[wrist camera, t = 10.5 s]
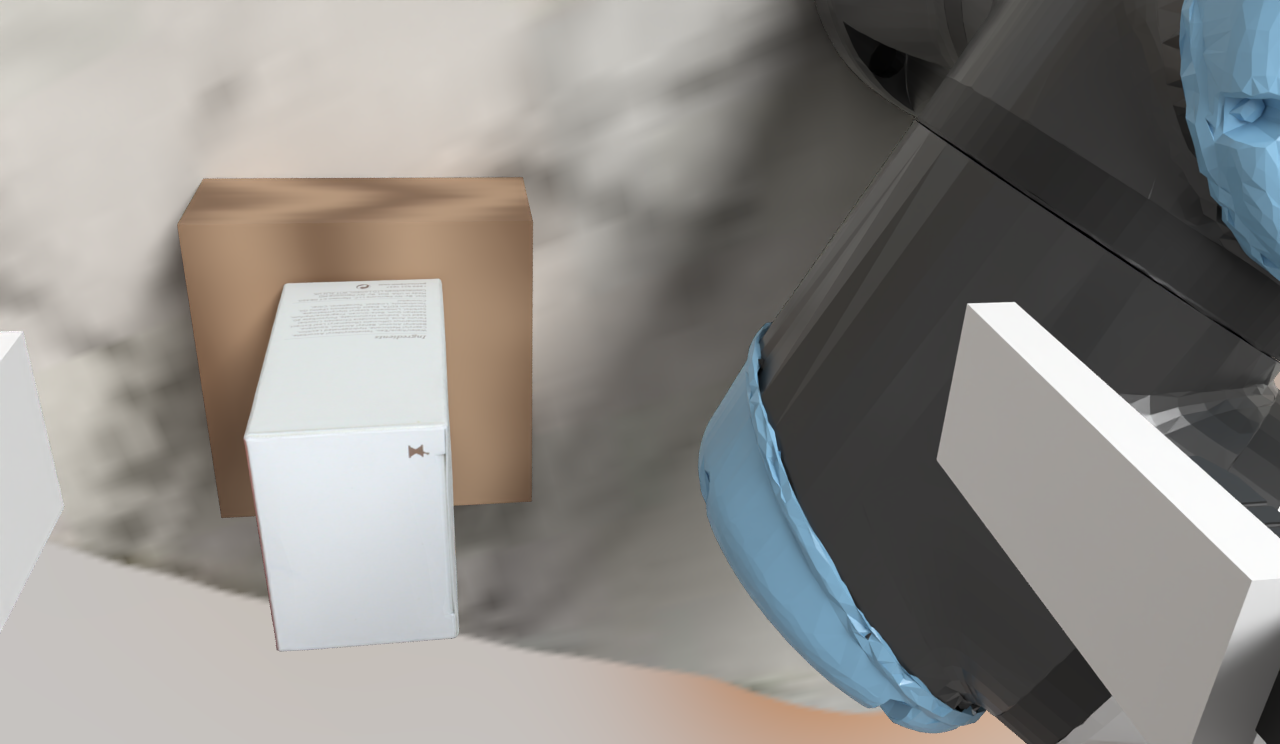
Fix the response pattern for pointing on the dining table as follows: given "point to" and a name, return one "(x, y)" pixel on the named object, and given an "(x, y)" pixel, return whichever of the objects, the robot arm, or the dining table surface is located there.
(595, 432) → the dining table surface
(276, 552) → the small box
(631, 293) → the dining table surface
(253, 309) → the walnut block
